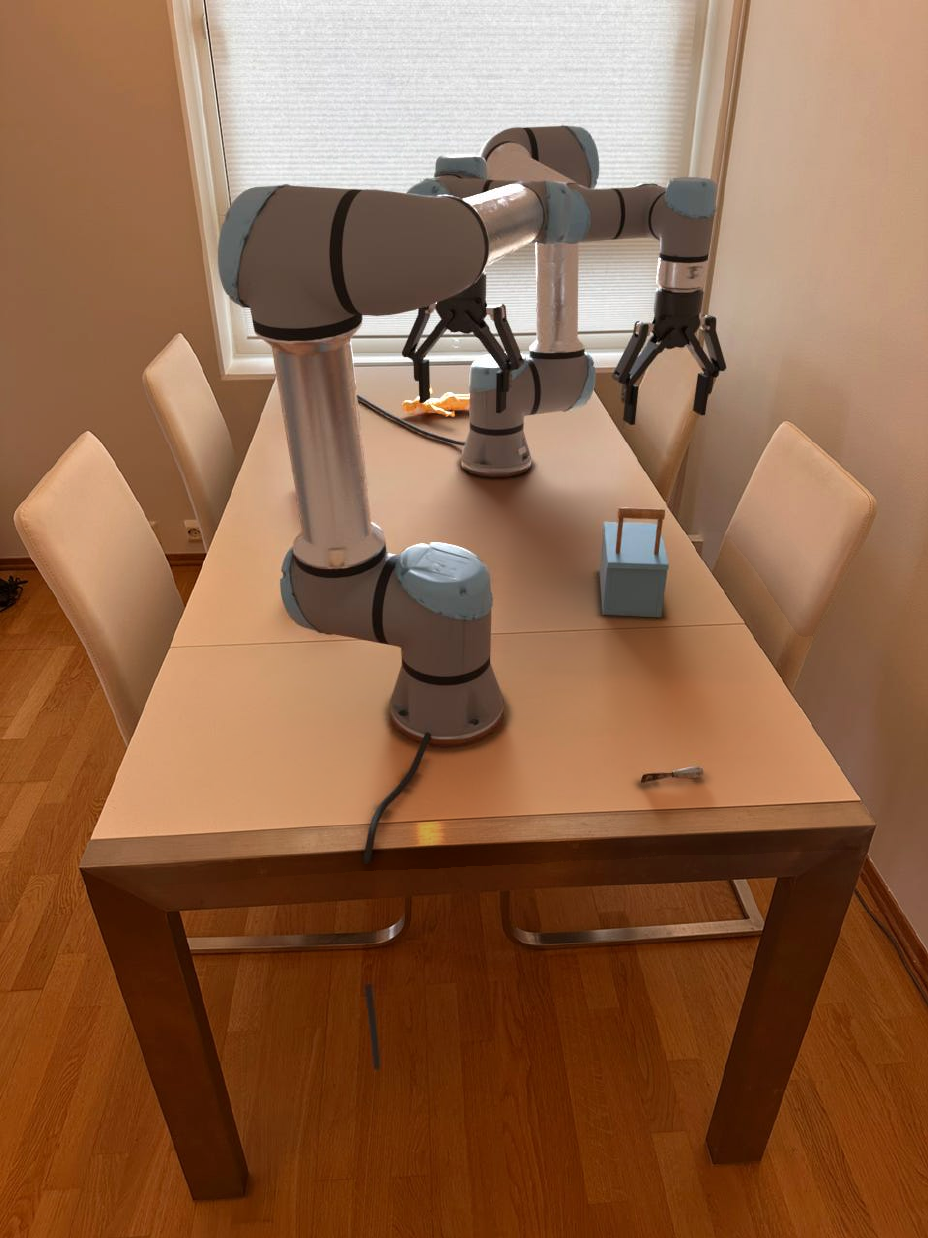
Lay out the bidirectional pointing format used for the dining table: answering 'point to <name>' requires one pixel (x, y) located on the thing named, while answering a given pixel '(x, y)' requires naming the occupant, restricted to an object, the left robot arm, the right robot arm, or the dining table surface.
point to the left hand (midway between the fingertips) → (462, 405)
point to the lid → (636, 540)
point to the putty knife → (674, 774)
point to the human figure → (439, 404)
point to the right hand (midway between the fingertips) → (664, 417)
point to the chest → (631, 590)
